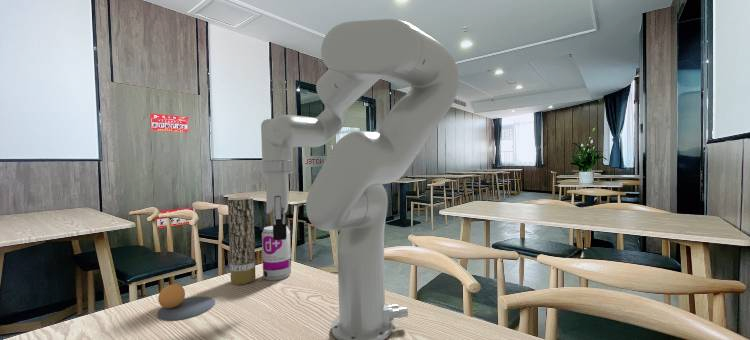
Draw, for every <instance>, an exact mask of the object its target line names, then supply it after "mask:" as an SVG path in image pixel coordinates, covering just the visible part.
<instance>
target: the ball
mask: <svg viewBox="0 0 750 340" xmlns="http://www.w3.org/2000/svg"><path fill="white" fill-rule="evenodd" d="M157 298H158V299H157V300H158V303H159V305H160V306H161V308H163V307H164V308H174V307H176V306H178V305H179V304H181V303H182V301H183V300H184V299H185V298H186V291H185V289H184V287H183V286H182V285H180V284H174V283H172V284H168V285H166V286H165V287H163V288H162V289H161V290H160V291H159V293H158V297H157Z"/></svg>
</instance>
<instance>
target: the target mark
mask: <svg viewBox="0 0 750 340" xmlns="http://www.w3.org/2000/svg"><path fill="white" fill-rule="evenodd" d="M215 304H216V300H215V299H214V298H212V297H210V296H191V297H187V298H186V297H185V298H184V300H183V301H182V303H181V304H179V305H178V306H176V307H174V308H164V307H161V308H160V309H159V310H158V312H157V318H158V319H159V320H162V321H170V322H171V321H181V320H187V319H191V318H194V317H197V316H200V315H202V314H204V313H207V312H208V311H209V310H211V309H212V308H213V307H214V306H215Z"/></svg>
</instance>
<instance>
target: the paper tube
mask: <svg viewBox="0 0 750 340" xmlns="http://www.w3.org/2000/svg"><path fill="white" fill-rule="evenodd" d="M227 210H228V211H227V214H228V218H227V219H228V240H229V242H228V243H229V244H228V245H229V270H230V282H231V284H233V285H238V286H239V285H247V284H250V283H252V282H254V281H255V279H256V278H257V277H256V249H255V248H256V246H255V245H256V243H255V242H256V241H255V222H254V221H255V219H254V218H255V217H254V215H255V214H254V212H255V211H254V196H253V195H250V194H249V195H247V194H246V195H232V196H228V197H227Z"/></svg>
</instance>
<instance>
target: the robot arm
mask: <svg viewBox="0 0 750 340" xmlns="http://www.w3.org/2000/svg"><path fill="white" fill-rule="evenodd" d="M320 55H321V60H322V62H323V64H324V65H325V66H326V68H328V69H327V71H325V73H323V75H321V77H319V79H318V80H317V83H316V85H315V89H316V93H317V95H318V97H319V99H320V100H321V102H322V103H323V105H324V106H325V109H324V110H323V111H322V112H321V113H320V114H318V115H317V116H316V117H312V116H311V117H310V116H303V115H295V114H282V115H279V116H277V117H275V118H267V119H263V121H262V122H261V125H260V132H261V134H260V135H261V164H262V166H261V167H262V169H261V170H262V171H261V172H262V175H266V187H265V188H266V190H265V192H266V194H265V195H266V197H265V198H266V214H267V215H270V214H271V213H272V218H273V221H272V222H273V224H272V226H273V240H285V239H286V237H287V234H286V226H287V222H286V213H287V212H288V208H289V201H290V200H289V199H290V197H289V196H290V194H289V193H290V191H289V189H290V188H289V187H290V186H289V185H290V184H289V178H290V177H289V174H294V158H293V157H294V153H293V148H319V147H322V146H324V145H325V144H327V143H328V142H330V140H331V141H332V139H333V138H334V137H336V136H337V135H338V134H339V133H340V131H342V129H343V127H344V124H345V122H346V119H347V116H348V115H347V113H348V112H347V111H348V109H349V108H350V107H351V106H352V105H353V104H354V103H355V102H357V101H358V100H359V99H360V98H361V97H362V96H363V95H364V94H365V93H366V92H367V91H368V90H369V89H371V88H372V87H373V86H374V85H375V84H376V83H377V82H378V81H379V80H380V79H382V77H385V78H388V79H389V78H390V79H393V80H396V81H397V82H401V83H404V84H408V85H409V86H410V89H409V91H408V92H407V93H406V94H405V95H404V96H402V97H401V98H400V99H399V100H398V101H397V102H396V103H395V104H394V105H393V106H392V108H391V109H390V110H389V112H388V114H387V116H386V118H385V119H384V120H383V122H382V124H381V125H380V126H379V128H378V129H376V130H375V131H368V130H367V131H363V130H358V131H353V132H349V133H347V134H345V135H344V136H342V137H341V138H340V139H339V140H338V141H336V143H335V144H334V145H333V147H332V149H331V150H330V152H329V154H328V155H327V157H326V159H325V161H323V162H324V163H323V164H322V167H321V168H320V169H319V170H318V173H317V175H316V177H315V179H314V181H313V183H312V184H311V186H310V188H309V191H308V193H307V196H306V203H305V210H306V211H305V213H306V216H307V219H308V221H309V222H310V223H311V225H312V226H314V227H315V228H316V229H318V230H320V231H323V232H334V231H339V230H340V233H339V235H338V242H337V270H338V271H337V272H338V273H337V274H338V275H337V278H338V279H337V280H338V316H337V317H335V319H334V320H333V321H332V323H331V333H332V335H333V337H334V338H335V339H336V340H385V339H387V338H388V337H390V335H391V334H392V333H393V329H394V324H393V321H394V319H397V318H399V319H400V318H402V319H403V318H408V316H409V313H408V312H409V311H408V308H407V306H404V307H399V305H398V303H393V304H389V305H388V304H386V295H385V294H386V293H385V292H386V291H385V286H386V285H385V284H386V283H385V229H386V228H385V225H386V219H387V212H388V204H389V203H388V194H387V191H386V188H385V187H384V185H386V184H391V183H394V182H397V181H399V180H400V179H401V178H402V177H403V176H404V175H405V173H406V172H407V170H408V169H409V168H410V166H411V165H412V163H413V162H414V160H415V159H416V157H417V156H418V155H419V153H420V152H421V150H422V149H423V148H424V146H425V145H426V143H427V141H428V140H429V139H430V136H431V135H432V134H433V133H434V131H435V129H436V128H437V127H438V125H439V124H441V121H442V120H443V119H444V118H445V116H446V114H447V113H448V112H449V111H450V109H451V107H452V105H453V103H454V102H455V99H456V97H457V94H458V90H459V84H460V75H459V70H458V66H457V64H456V60H455V59H454V57H453V55H452V54H451V52H450V51H449V50H448V48H446V47H445V46H444V45H443V44H442V43H441V42H439V41H438V40H436V39H435V38H433V37H432V36H431V35H429V34H427V33H425V32H424V31H422V30H421V29H419V28H418V27H416V26H414V25H413V24H411V23H410V22H407V21H404V20H401V19H395V18H383V19H380V18H379V19H371V20H369V19H367V20H355V21H354V20H353V21H345V22H342V23H339V24H336V25H335V26H334V27H332V28H331V29H330V30H328V31H327V33H326V34H325V36H324V38H323V40H322V43H321V48H320Z"/></svg>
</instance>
